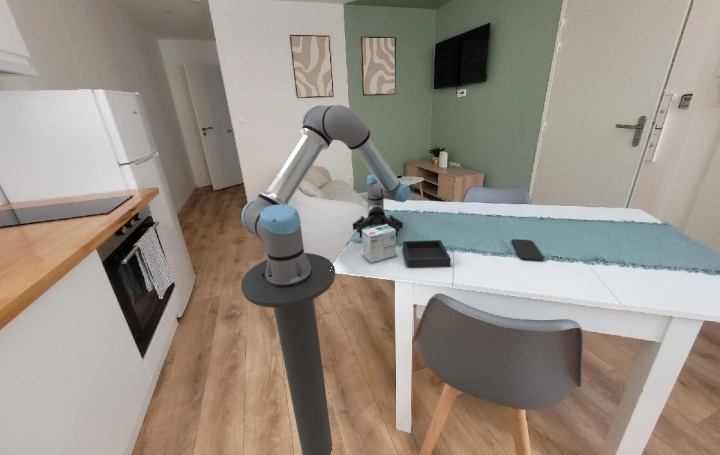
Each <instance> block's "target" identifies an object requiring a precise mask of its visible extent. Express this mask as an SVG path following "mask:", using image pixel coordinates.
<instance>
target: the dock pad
mask: <svg viewBox="0 0 720 455" xmlns="http://www.w3.org/2000/svg"><path fill="white" fill-rule="evenodd" d="M402 250H403V255H404V260H405V262H406V267H407V268H440V267H441V268H443V267H451V262H452V261H451V260H452V257H451V255H450V254H449V252H448V250H447V249H446V247H445V244H443V242H442V240H441V239H434V240H432V239H431V240H403V241H402Z"/></svg>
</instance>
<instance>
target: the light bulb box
mask: <svg viewBox="0 0 720 455" xmlns="http://www.w3.org/2000/svg"><path fill="white" fill-rule="evenodd" d="M396 240H397V237H396V230H395V229H394V228H392V227H390V226H389V225H387V224H385V225H377V226H374V227H370V228H364V229H362V252H363V257H364V258H365V259H366V260H367V261H368V262H369V263H370V264H371V263H376V262H380V261H383V260H387V259H390V258H393V257H396V254H397V251H396V250H397V245H396V244H397V243H396V242H397V241H396Z"/></svg>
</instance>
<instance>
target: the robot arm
mask: <svg viewBox="0 0 720 455" xmlns="http://www.w3.org/2000/svg"><path fill="white" fill-rule="evenodd" d="M301 122H302V127H301V128H300V135H301V137H300V139H299V140H298V141H297V143H296V145H295V146H294V148H293V149H292V151H291V152H290V154H289V156H288V157H287V159H285V162H284V163H283V165H282V166H281V167H280V169H279V171H278V172H277V174H276V176H275V177H274V179H273V180H272V182H271V183H270V185H269V187H268V188H267V190H265V191H262V192H259V194H257V197H256V199H254V200H251V201H249V202H248V203H247V204H245V205H244V207H243V209H242V211H241V218H240V219H241V222H242V225H243V226H244V228H245V229H246V230H247V231H248V232H249V233H250V234H252V235H254V236H256V237H257V238H259V239H260V240H262V241H263V242H264V244H265V249H266V255H267V260H268V261H267V267H266V271H265V272H263V273H262V274H261V275H262V276H264V275H265V276H266V281H267V282H268V283H269V284H270V285H272V286H275V287H291V286H295V285H298V284H301V283H303V282H304V281H306V280H307V279H308V278H309V277H310V276H311V274H312V267H311V264H310V262H309V260H308V258H307V257H306V255H305V253H306V252H305V248H304V241H303V234H302V227H301V226H302V225H301V224H302V223H301V221H302V220H301V218H300V213H299V211H298V210H297V209H296V208H295V207H293V206H292V205H289V203H290V201H291V200H292V199H293V197H294V196H295V194H296V192H297V190H298V189H299V187H300V186H301V184H302V182H303V181H304V179H305V178H306V177H307V174H308V173H309V171H310V170H311V168H312V166H313V165H314V164H315V161H316V160H317V158H319V155H320V154H321V153H322V151H325V150H328V149H329V148H330V145H331V144H332V142H333V141H339V142H341V143H343V144H345V145H346V147H347V148H348V149H349V150H350V151H354V153H355V154H356V155H357V157H358V158H359V160H361V163H363V165H364V166H365V168H366V169H367V170H368V171H369V173H370V174H369V175H367V178H366V179H367V180H366V189H367V190H366V191H367V217H364V215H362V216H360V217H359V219H357V220H356V221H354V222H353V223H352V231H356V233H357V234H359V239H363V237H362V230H365V229H367V228H368V227H372V226H381V225H385V224H387V225H389V226H390V227H392V228H394V229H395V230H396V238H397V237H398V232H400V230H401V229H403V228H404V223H403V221H401V220H399V219H397V218H396V217H395V216H394V215H392V214H391V215H389V216H388V217H387V215H386V212H385V205H384V199H387V200H390V201H394V202H399V203H405V202H406V201H408V200H409V198H410V196H411V188H410V187H409V185H407V184H405V183H401V181H400V180H399V179H398V177H397V176H396V174H395V173H394V171H393V169H392V168H391V166H390V165H389V163H388V162H387V160H386V158H385V157H384V156H383V154H382V153H381V151H380V150H379V147H377V145H376V144H375V142H374V140H373V139H372V138H371V137H372V132H371V131H370V130H369V128H368V126H367V125H366V123H365V122H364V121H363V120H362V119H361V117H359V115H358V114H357V113H356V112H354V111H353V110H352V109H350V108H349V107H348V106H346V105H342V104H335V105H316V106H313V107H310V108H308V109H307V110H306V112H305V113H304V114H303V116H302V121H301Z"/></svg>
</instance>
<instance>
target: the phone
mask: <svg viewBox="0 0 720 455" xmlns="http://www.w3.org/2000/svg"><path fill="white" fill-rule="evenodd" d="M511 243H512V246H513V247H514V249H515V251H516V253H517V255H518V257H519V258H520V259H521V260H524V261H538V262H543V261H544V258H545V257H544V256H543V255H542V253H541V252H540V250H539V249H538V247H537V245H536V244H535V243H534V241H532V240H530V239H517V238H513V239H511Z"/></svg>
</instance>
